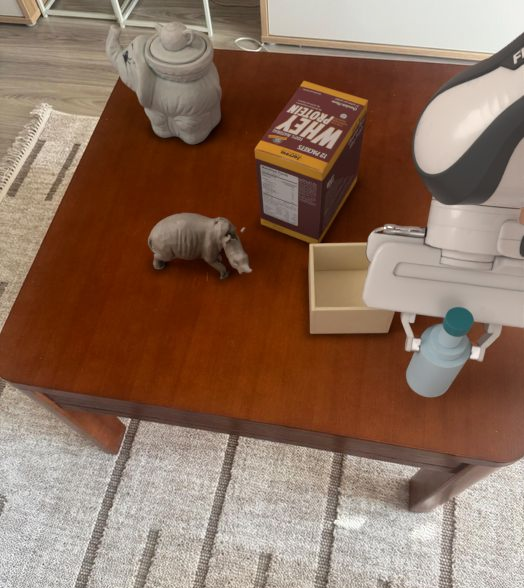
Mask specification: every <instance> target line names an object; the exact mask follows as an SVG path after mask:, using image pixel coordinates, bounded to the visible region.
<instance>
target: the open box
mask: <svg viewBox="0 0 524 588" xmlns="http://www.w3.org/2000/svg"><path fill="white" fill-rule="evenodd" d="M366 246H367V242H327V243H326V242H325V243H323V242H322V243H321V242H320V244H311V243H309V248H308V249H309V251H308V252H309V253H308V301H309V303H308V304H309V306H308V307H309V333H310V334H311V335H312V334H313V335H314V334H315V335H317V334H319V335H321V334H388V333H389V330H390V328H391V325H392V322H393V318H394V316H395V313H396V311H389V310H381V309H373V308H368V307H367V306H366V305H365V303H364V302H363V300H362V291H363V286H364V281H365V277H366V274H367V270H368V267H369V264H370V263H369V261H368V260H367V257H366Z"/></svg>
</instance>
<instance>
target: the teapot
mask: <svg viewBox="0 0 524 588" xmlns="http://www.w3.org/2000/svg"><path fill="white" fill-rule="evenodd" d="M153 26H154V29H155V30H156V33H154V34H153V35H152V34H140V35H138V36H136V37H135V38H133V40H132V41H131V42H130V43H129V45H127V46H123V45H122V44H121V41H120V38H121V34H122V29H121V28H120V27H119V26H117V25H114V24H111V25H110V27H109V30H108V34H107V37H106V42H105V50H104V51H105V55H106V58H107V60H108V62H109V63H110V64H111V66H113V68H114V69H115V70H116V71H117V72H118V74H119V75H118V76H119V77H120V80H121V82H122V83H123V84H124V85H125V86H126V87H128V88H129V89H130V90H132V91H133V92H134V93H135V94H136V96H137V99H138V103H139V104H140V106H141V107H143V109H144V112H145V115H146V116H147V118H148V120H149V121H150V124H151V128H152V131H153V132H154V134H156V135H157V136H158V137H160V138H165V139H166V138H167V139H168V138H172V137H178V138H180V139H181V140H182V141H183V142H184V143H186V144H188V145H196V144H197V145H198V144H199V143H201V142H203V141H204V140H206V138H207V137H208V136H209V134H210V133H211V132H212V130H214V128H215V127H216V126H217V125H219V123H220V121H221V118H222V114H221V99H222V95H223V94H222V93H223V92H222V87H221V83H220V75H219V72H218V69H217V66H216V65H215V62H214V61H213V60H214V53H215V50H214V46H213V42H212V40H211V38H210V36H208V35H207V33H204V32H202V31H199V30H198V29H193V28H188V27H187V26H186V25H185V24H184V23H183V22H180V21H170V22H169V23H166V24H165V25H164V24H162V23H160V22H156V23H154V25H153Z"/></svg>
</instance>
